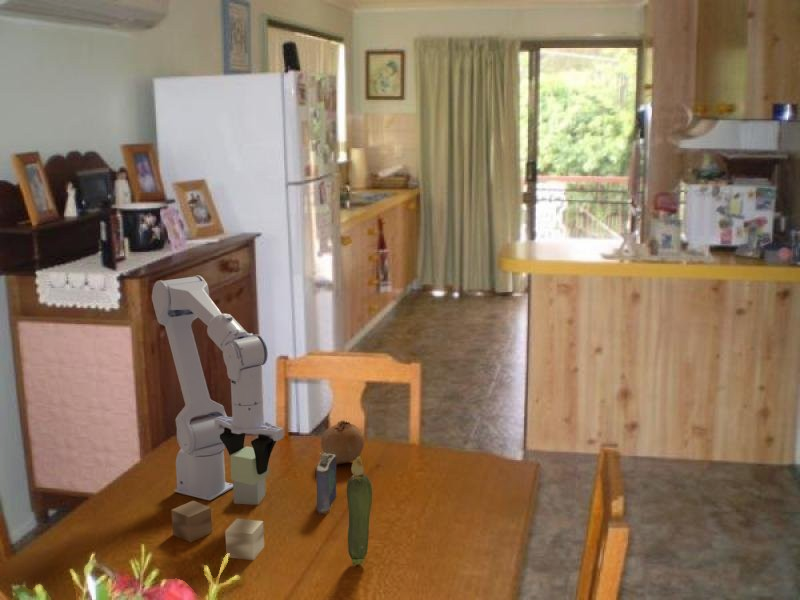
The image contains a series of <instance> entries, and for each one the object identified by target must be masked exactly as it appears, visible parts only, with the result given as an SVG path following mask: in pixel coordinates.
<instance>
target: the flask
mask: <svg viewBox="0 0 800 600" xmlns="http://www.w3.org/2000/svg"><path fill="white" fill-rule="evenodd" d="M318 456H319V457H321V458H320V460H319V461H318V463H317V465H316V502H317V503H316V512H317V513H318V515H319V514H320V515H323V514H324V515H326V514H328V513H329V512H331V508H332V507H333V503H335V502H334V501H335V500H336V498H337V463H336V455H335V454H326V453H324V452H323V451H321V452H320V453H319V455H318Z"/></svg>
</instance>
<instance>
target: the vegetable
mask: <svg viewBox="0 0 800 600" xmlns="http://www.w3.org/2000/svg"><path fill="white" fill-rule="evenodd" d="M351 473H352V476H351V477H349V479H348V481H347V484H346V498H347V507H348V529H347V530H348V531H347V550H348V555H349V557H350V559H351V563H352V566H353V567H356V565H362V564H364V563H365V557H366V556H367V554H368V548H369V547H368V546H369V536H370V514H371V509H372V505H373V502H372V501H373V487H372V482H371V479H370V478H369V477H368V476H367V475H366V474H364V473H365V468H364V465H363V456H362V455H360V456H358V457H357V458H356V459H355V460H353V462H352V464H351Z"/></svg>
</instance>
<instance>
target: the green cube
mask: <svg viewBox="0 0 800 600" xmlns="http://www.w3.org/2000/svg"><path fill="white" fill-rule="evenodd" d="M229 458H230V476H231V481H232V482H233V481H237V482H241V483H246V484H250V485H254V484H256V483H257V482H259V481H261V480H262V479H264V478H265V479H266V478H268V477H269V476H270V464H269V463H270V461H269V462H268V467H267V471H266V472H265V473H263V474H261V475H259V474H258V473H257V469H256V457H255V453H254V449H253V447H252V446H247V445H246V446H244V448H243V449H241V450H239V451H237V452H235V453H233V454H231V455H229Z"/></svg>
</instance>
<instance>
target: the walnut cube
mask: <svg viewBox="0 0 800 600" xmlns="http://www.w3.org/2000/svg"><path fill="white" fill-rule="evenodd" d="M170 511H171V523H172V535H173V536H175V537H177V538H179V539H182V540H183V541H186V542H188V543H190V544H191V543H193V542H195V541H197V540H199V539H202V538H203V537H206V536H208V535H209V534H212V533H213V525H212V524H213V523H212V522H213V521H212V508H211V507H210V506H208V505H206V504H203V503H201V502H197V500H191V501H189V502H187V503H184V504H182V505H179V506H177V507H175V508H172V509H171V510H170Z"/></svg>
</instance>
